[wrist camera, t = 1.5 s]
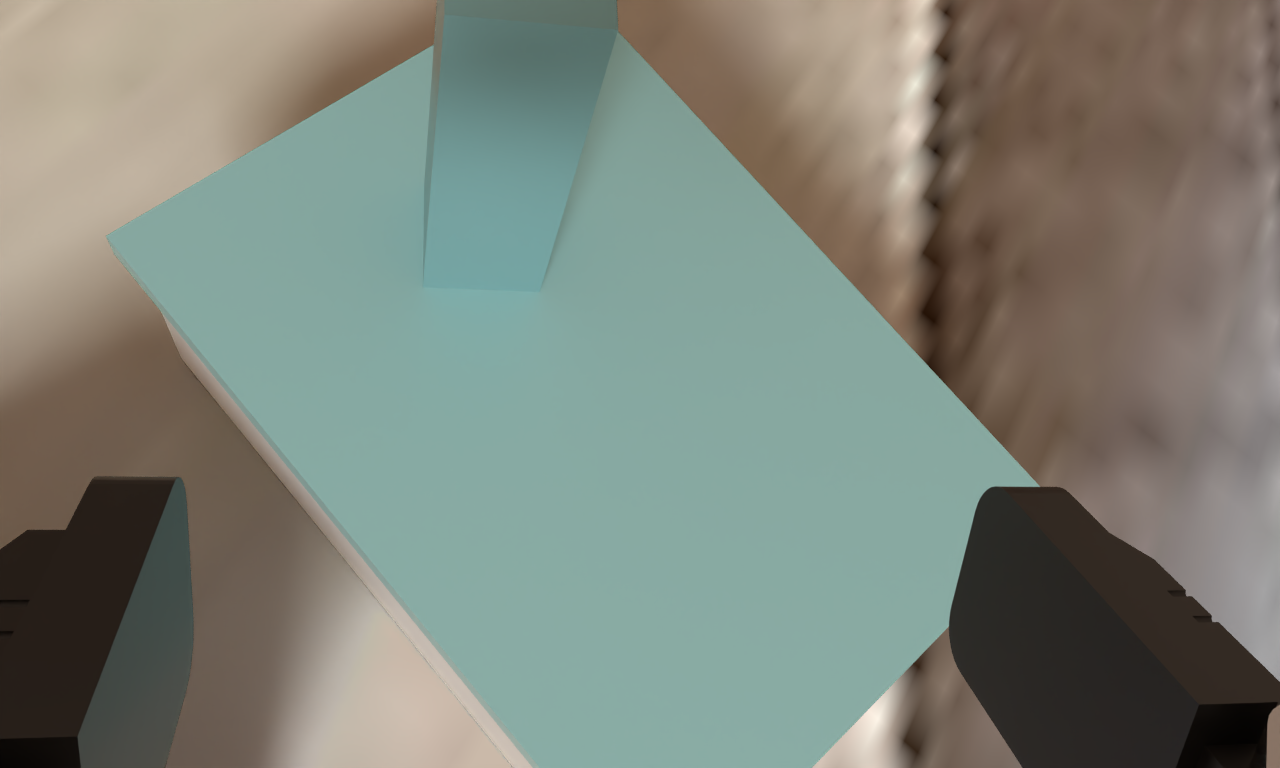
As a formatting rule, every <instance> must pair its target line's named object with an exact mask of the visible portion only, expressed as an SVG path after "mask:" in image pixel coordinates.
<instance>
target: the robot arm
mask: <svg viewBox="0 0 1280 768" xmlns="http://www.w3.org/2000/svg"><path fill="white" fill-rule="evenodd" d="M1185 592H1186V590H1185V589H1184V588H1183V587H1182V586H1181V585H1180V584H1179V583H1178V582H1177V581H1176V580H1175V579H1174V578H1173V577H1172V576H1171V575H1170V574H1169V573H1168V572H1166V571H1165V570H1164V569H1163V568H1162V567H1161V566H1160V565H1159V564H1158V563H1157V562H1156V561H1155V560H1154V559H1152V558H1151V557H1149V556H1147V555H1146V554H1144V553H1142V552H1141V551H1139V550H1137V549H1136V548H1134V547H1132V546H1131V545H1129V544H1127V543H1126V542H1124V541H1122V540H1121V539H1119V538H1117V537H1115V536H1114V535H1112V534H1110V533H1109V532H1108V531H1107V530H1106V529H1105V528H1104V527H1103V526H1102V525H1101V524H1100V523H1099V522H1098V521H1097V520H1096V519H1095V518H1094V517H1093V516H1092V515H1091V514H1090V513H1089V512H1088V511H1087V510H1086V509H1085V508H1084V507H1083V506H1082V505H1081V504H1080V503H1079V502H1078V501H1077V500H1076V499H1075V498H1074V497H1073V496H1072V495H1071V494H1070V493H1069V492H1067V491H1066V490H1065V489H1063V488H1060V487H1000V486H995V487H991V488H989V489H987V490H986V491H985V492H984V493H983V495H982V496H981V498H980V500H979V502H978V504H977V507H976V510H975V514H974V518H973V522H972V526H971V530H970V534H969V538H968V542H967V546H966V550H965V554H964V558H963V562H962V566H961V570H960V574H959V578H958V582H957V586H956V590H955V594H954V598H953V601H952V605H951V610H950V617H949V637H950V644H951V649H952V653H953V657H954V660H955V662H956V665H957V667H958V669H959V671H960V672H961V674H962V675H963V677H964V679H965V680H966V682H967V683H968V685H969V686H970V688H971V689H972V691H973V692H974V694H975V695H976V697H977V698H978V700H979V702H980V703H981V705H982V706H983V708H984V709H985V711H986V712H987V714H988V715H989V717H990V718H991V720H992V721H993V723H994V725H995V726H996V728H997V729H998V731H999V732H1000V734H1001V735H1002V737H1003V738H1004V740H1005V741H1006V743H1007V744H1008V746H1009V748H1010V749H1011V751H1012V752H1013V754H1014V755H1015V757H1016V758H1017V760H1018V761H1019V763H1020V764H1021V766H1022V767H1023V768H1280V682H1279V681H1278V680H1277V679H1276V678H1275V677H1274V676H1273V675H1272V674H1271V673H1270V672H1269V671H1268V670H1267V669H1266V668H1265V667H1264V666H1263V665H1262V664H1261V663H1260V662H1259V661H1258V660H1257V659H1256V658H1255V657H1254V656H1253V655H1251V654H1250V653H1249V652H1248V651H1247V650H1246V649H1245V648H1244V647H1243V646H1242V645H1241V644H1240V643H1239V642H1238V641H1237V640H1236V639H1235V638H1234V637H1233V636H1232V635H1231V634H1230V633H1229V632H1228V631H1227V630H1226V629H1225V628H1224V627H1223V626H1222V625H1221V624H1220V623H1219V622H1212V619H1211V617H1212V615H1211V614H1210V613H1208V612H1207V611H1206V610H1205V609H1204V608H1203V607H1202V606H1201V605H1200V604H1199V603H1198V602H1197V601H1196V600H1195V599H1194V598H1193V597H1192V596H1188V597H1186V594H1185ZM192 651H193V602H192V585H191V568H190V551H189V534H188V517H187V501H186V492H185V487H184V483H183V481H182V479H181V478H180V477H106V476H97V477H94V478H93V479H92V481H91V482H90V484H89V486H88V488H87V490H86V491H85V493H84V495H83V497H82V499H81V501H80V503H79V505H78V507H77V509H76V511H75V513H74V515H73V517H72V519H71V521H70V523H69V525H68V527H67V529H66V530H27V531H26V532H24V533H23V534H21V535H20V536H19V537H17V538H16V539H14V540H13V541H12V542H10V543H9V544H7V545H6V546H5V547H3V548H2V549H0V768H165V766H166V762H167V759H168V755H169V751H170V748H171V744H172V741H173V737H174V733H175V730H176V726H177V722H178V719H179V715H180V711H181V708H182V704H183V700H184V697H185V693H186V689H187V685H188V681H189V676H190V669H191V661H192Z"/></svg>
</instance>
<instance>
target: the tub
mask: <svg viewBox="0 0 1280 768" xmlns="http://www.w3.org/2000/svg"><path fill="white" fill-rule="evenodd" d="M161 313H162V312H161ZM162 315H163V313H162ZM163 317H164V320H165V322H166V324H167V327H168V329H169V331H170V334H171V336H172V338H173V341H174V343H175V345H176V348H177V350H178V352H179V355H180V357H181V359H182V360H183V361H184V362H185V364H186V365H187V366H188V367H189V369H190V370H191V371H192V372H193V373H194V375H195V376H196V377H197V378H198V380H199V381H200V382H201V383H202V385H203V386H204V387H205V388H206V389H207V391H208V392H209V393H210V394H211V396H212V397H213V398H214V399H215V401H216V402H217V403H218V404H219V405H220V407H221V408H222V409H223V410H224V412H225V413H226V414H227V415H228V417H229V418H230V419H231V420H232V421H233V423H234V424H235V425H236V426H237V428H238V429H239V430H240V431H241V433H242V434H243V435H244V436H245V438H246V439H247V440H248V441H249V442H250V444H251V445H252V446H253V447H254V449H255V450H256V451H257V452H258V454H259V455H260V456H261V457H262V458H263V460H264V461H265V462H266V463H267V465H268V466H269V467H270V468H271V470H272V471H273V472H274V473H275V474H276V476H277V477H278V478H279V479H280V481H281V482H282V483H283V484H284V486H285V487H286V488H287V489H288V490H289V492H290V493H291V494H292V495H293V497H294V498H295V499H296V500H297V502H298V503H299V504H300V505H301V506H302V508H303V509H304V510H305V511H306V513H307V514H308V515H309V516H310V518H311V519H312V520H313V521H314V523H315V524H316V525H317V526H318V527H319V529H320V530H321V531H322V532H323V534H324V535H325V536H326V537H327V539H328V540H329V541H330V542H331V543H332V545H333V546H334V547H335V548H336V550H337V551H338V552H339V553H340V555H341V556H342V557H343V558H344V559H345V561H346V562H347V563H348V564H349V566H350V567H351V568H352V569H353V571H354V572H355V573H356V574H357V575H358V577H359V578H360V579H361V580H362V582H363V583H364V584H365V585H366V587H367V588H368V589H369V590H370V591H371V593H372V594H373V595H374V596H375V598H376V599H377V600H378V601H379V603H380V604H381V605H382V606H383V607H384V609H385V610H386V611H387V612H388V614H389V615H390V616H391V617H392V619H393V620H394V621H395V622H396V624H397V625H398V626H399V627H400V628H401V630H402V631H403V632H404V633H405V635H406V636H407V637H408V638H409V640H410V641H411V642H412V643H413V644H414V646H415V647H416V648H417V649H418V651H419V652H420V653H421V654H422V656H423V657H424V658H425V659H426V660H427V662H428V663H429V664H430V665H431V667H432V668H433V669H434V670H435V672H436V673H437V674H438V675H439V676H440V678H441V679H442V680H443V681H444V683H445V684H446V685H447V686H448V688H449V689H450V690H451V691H452V692H453V694H454V695H455V696H456V697H457V699H458V700H459V701H460V702H461V704H462V705H463V706H464V707H465V709H466V710H467V711H468V712H469V713H470V715H471V716H472V717H473V718H474V720H475V721H476V722H477V723H478V725H479V726H480V727H481V728H482V729H483V731H484V732H485V733H486V734H487V736H488V737H489V738H490V739H491V741H492V742H493V743H494V744H495V745H496V747H497V748H498V749H499V750H500V752H501V753H502V754H503V755H504V757H505V758H506V759H507V760H508V761H509V763H510V764H511V765H512V766H513V768H533V767H532V766H531V765H530V764H529V763H528V761H527V760H526V759H525V758H524V756H523V755H522V754H521V753H520V752H519V750H518V749H517V748H516V747H515V745H514V744H513V743H512V742H511V740H510V739H509V738H508V737H507V736H506V734H505V733H504V732H503V731H502V729H501V728H500V727H499V726H498V725H497V723H496V722H495V721H494V720H493V718H492V717H491V716H490V715H489V713H488V712H487V711H486V710H485V709H484V707H483V706H482V705H481V704H480V702H479V701H478V700H477V699H476V698H475V696H474V695H473V694H472V693H471V691H470V690H469V689H468V688H467V686H466V685H465V684H464V683H463V682H462V680H461V679H460V678H459V677H458V675H457V674H456V673H455V672H454V671H453V669H452V668H451V667H450V666H449V664H448V663H447V662H446V661H445V659H444V658H443V657H442V656H441V655H440V653H439V652H438V651H437V650H436V648H435V647H434V646H433V645H432V644H431V642H430V641H429V640H428V639H427V637H426V636H425V635H424V634H423V632H422V631H421V630H420V629H419V628H418V626H417V625H416V624H415V623H414V621H413V620H412V619H411V618H410V617H409V615H408V614H407V613H406V612H405V610H404V609H403V608H402V607H401V605H400V604H399V603H398V602H397V601H396V599H395V598H394V597H393V596H392V594H391V593H390V592H389V591H388V589H387V588H386V587H385V586H384V585H383V583H382V582H381V581H380V580H379V578H378V577H377V576H376V575H375V574H374V572H373V571H372V570H371V569H370V567H369V566H368V565H367V564H366V562H365V561H364V560H363V559H362V558H361V556H360V555H359V554H358V553H357V551H356V550H355V549H354V548H353V547H352V545H351V544H350V543H349V542H348V540H347V539H346V538H345V537H344V535H343V534H342V533H341V532H340V531H339V529H338V528H337V527H336V526H335V524H334V523H333V522H332V521H331V520H330V518H329V517H328V516H327V515H326V513H325V512H324V511H323V510H322V508H321V507H320V506H319V505H318V504H317V502H316V501H315V500H314V499H313V497H312V496H311V495H310V494H309V493H308V491H307V490H306V489H305V488H304V486H303V485H302V484H301V483H300V481H299V480H298V479H297V478H296V477H295V475H294V474H293V473H292V472H291V470H290V469H289V468H288V467H287V466H286V464H285V463H284V462H283V461H282V459H281V458H280V457H279V456H278V454H277V453H276V452H275V451H274V450H273V448H272V447H271V446H270V445H269V443H268V442H267V441H266V440H265V438H264V437H263V436H262V435H261V434H260V432H259V431H258V430H257V429H256V427H255V426H254V425H253V424H252V423H251V421H250V420H249V419H248V418H247V416H246V415H245V414H244V413H243V411H242V410H241V409H240V408H239V407H238V405H237V404H236V403H235V402H234V400H233V399H232V398H231V397H230V396H229V394H228V393H227V392H226V391H225V389H224V388H223V387H222V386H221V384H220V383H219V382H218V381H217V380H216V378H215V377H214V376H213V375H212V373H211V372H210V371H209V370H208V369H207V367H206V366H205V365H204V364H203V362H202V361H201V360H200V359H199V357H198V356H197V355H196V354H195V353H194V351H193V350H192V349H191V348H190V346H189V345H188V344H187V343H186V342H185V340H184V339H183V338H182V337H181V335H180V334H179V333H178V332H177V330H176V329H175V328H174V327H173V326H172V324H171V323H170V322H169V321H168V319H167V318H166V317H165V316H164V315H163Z"/></svg>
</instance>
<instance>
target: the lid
mask: <svg viewBox="0 0 1280 768" xmlns="http://www.w3.org/2000/svg"><path fill="white" fill-rule="evenodd" d="M106 237H107V240H108V242H109V244H110V246H111V248H112V250H113V252H114V254H115V256H116V257H117V258H118V259H119V260H120V262H121V263H122V264H123V265H124V267H125V268H126V269H127V270H128V272H129V273H130V274H131V275H132V276H133V278H134V279H135V280H136V281H137V283H138V284H139V285H140V286H141V288H142V289H143V290H144V291H145V292H146V294H147V295H148V296H149V297H150V299H151V300H152V301H153V302H154V303H155V305H156V306H157V307H158V308H159V310H160V311H161V312H162V313H163V315H164V316H165V317H166V318H167V319H168V321H169V322H170V323H171V324H172V326H173V327H174V328H175V329H176V330H177V332H178V333H179V334H180V335H181V337H182V338H183V339H184V340H185V342H186V343H187V344H188V345H189V346H190V348H191V349H192V350H193V351H194V353H195V354H196V355H197V356H198V357H199V359H200V360H201V361H202V362H203V364H204V365H205V366H206V367H207V369H208V370H209V371H210V372H211V373H212V375H213V376H214V377H215V378H216V380H217V381H218V382H219V383H220V384H221V386H222V387H223V388H224V389H225V391H226V392H227V393H228V394H229V396H230V397H231V398H232V399H233V400H234V402H235V403H236V404H237V405H238V407H239V408H240V409H241V410H242V411H243V413H244V414H245V415H246V416H247V418H248V419H249V420H250V421H251V423H252V424H253V425H254V426H255V427H256V429H257V430H258V431H259V432H260V434H261V435H262V436H263V437H264V438H265V440H266V441H267V442H268V443H269V445H270V446H271V447H272V448H273V450H274V451H275V452H276V453H277V454H278V456H279V457H280V458H281V459H282V461H283V462H284V463H285V464H286V466H287V467H288V468H289V469H290V470H291V472H292V473H293V474H294V475H295V477H296V478H297V479H298V480H299V481H300V483H301V484H302V485H303V486H304V488H305V489H306V490H307V491H308V493H309V494H310V495H311V496H312V497H313V499H314V500H315V501H316V502H317V504H318V505H319V506H320V507H321V508H322V510H323V511H324V512H325V513H326V515H327V516H328V517H329V518H330V520H331V521H332V522H333V523H334V524H335V526H336V527H337V528H338V529H339V531H340V532H341V533H342V534H343V535H344V537H345V538H346V539H347V540H348V542H349V543H350V544H351V545H352V547H353V548H354V549H355V550H356V551H357V553H358V554H359V555H360V556H361V558H362V559H363V560H364V561H365V562H366V564H367V565H368V566H369V567H370V569H371V570H372V571H373V572H374V574H375V575H376V576H377V577H378V578H379V580H380V581H381V582H382V583H383V585H384V586H385V587H386V588H387V589H388V591H389V592H390V593H391V594H392V596H393V597H394V598H395V599H396V601H397V602H398V603H399V604H400V605H401V607H402V608H403V609H404V610H405V612H406V613H407V614H408V615H409V617H410V618H411V619H412V620H413V621H414V623H415V624H416V625H417V626H418V628H419V629H420V630H421V631H422V632H423V634H424V635H425V636H426V637H427V639H428V640H429V641H430V642H431V644H432V645H433V646H434V647H435V648H436V650H437V651H438V652H439V653H440V655H441V656H442V657H443V658H444V659H445V661H446V662H447V663H448V664H449V666H450V667H451V668H452V669H453V671H454V672H455V673H456V674H457V675H458V677H459V678H460V679H461V680H462V682H463V683H464V684H465V685H466V686H467V688H468V689H469V690H470V691H471V693H472V694H473V695H474V696H475V698H476V699H477V700H478V701H479V702H480V704H481V705H482V706H483V707H484V709H485V710H486V711H487V712H488V713H489V715H490V716H491V717H492V718H493V720H494V721H495V722H496V723H497V725H498V726H499V727H500V728H501V729H502V731H503V732H504V733H505V734H506V736H507V737H508V738H509V739H510V740H511V742H512V743H513V744H514V745H515V747H516V748H517V749H518V750H519V752H520V753H521V754H522V755H523V756H524V758H525V759H526V760H527V761H528V763H529V764H530V765H531V766H532V767H533V768H812V767H813V766H814V765H815V764H816V763H817V762H818V761H819V760H820V759H821V758H822V757H823V756H824V755H825V754H826V753H827V752H828V750H829V749H830V748H831V747H832V746H833V745H834V744H835V743H836V742H837V741H838V740H839V739H840V738H841V737H842V736H843V735H844V734H845V733H846V732H847V731H848V730H849V729H850V728H851V727H852V726H853V725H854V724H855V723H856V722H857V721H858V720H859V718H860V717H861V716H862V715H863V714H864V713H865V712H866V711H867V710H868V709H869V708H870V707H871V706H872V705H873V704H874V703H875V702H876V701H877V700H878V699H879V698H880V697H881V696H882V695H883V694H884V693H885V692H886V691H887V690H888V689H889V687H890V686H891V685H892V684H893V683H894V682H895V681H896V680H897V679H898V678H899V677H900V676H901V675H902V674H903V673H904V672H905V671H906V670H907V669H908V668H909V667H910V666H911V665H912V664H913V663H914V662H915V661H916V660H917V659H918V658H919V656H920V655H921V654H922V653H923V652H924V651H925V650H926V649H927V648H928V647H929V646H930V645H931V644H932V643H933V642H934V641H935V640H936V639H937V638H938V637H939V636H940V635H941V634H942V633H943V632H944V631H945V630H946V629H947V628H948V627H949V617H950V610H951V605H952V601H953V598H954V594H955V590H956V586H957V582H958V578H959V574H960V570H961V566H962V562H963V558H964V554H965V550H966V546H967V542H968V538H969V534H970V530H971V526H972V522H973V518H974V514H975V510H976V507H977V504H978V502H979V500H980V498H981V496H982V495H983V493H984V492H985V491H986V490H987V489H989V488H991V487H995V486H1000V487H1040V486H1039V485H1038V484H1037V483H1036V482H1035V481H1034V480H1033V479H1032V478H1031V476H1030V475H1029V474H1028V473H1027V472H1026V471H1025V470H1024V469H1023V468H1022V467H1021V466H1020V465H1019V464H1018V462H1017V461H1016V460H1015V459H1014V458H1013V457H1012V456H1011V455H1010V454H1009V453H1008V452H1007V451H1006V450H1005V448H1004V447H1003V446H1002V445H1001V444H1000V443H999V442H998V441H997V440H996V439H995V438H994V437H993V435H992V434H991V433H990V432H989V431H988V430H987V429H986V428H985V427H984V426H983V425H982V424H981V423H980V421H979V420H978V419H977V418H976V417H975V416H974V415H973V414H972V413H971V412H970V411H969V410H968V408H967V407H966V406H965V405H964V404H963V403H962V402H961V401H960V400H959V399H958V398H957V397H956V396H955V394H954V393H953V392H952V391H951V390H950V389H949V388H948V387H947V386H946V385H945V384H944V383H943V381H942V380H941V379H940V378H939V377H938V376H937V375H936V374H935V373H934V372H933V371H932V370H931V369H930V367H929V366H928V365H927V364H926V363H925V362H924V361H923V360H922V359H921V358H920V357H919V356H918V354H917V353H916V352H915V351H914V350H913V349H912V348H911V347H910V346H909V345H908V344H907V343H906V342H905V340H904V339H903V338H902V337H901V336H900V335H899V334H898V333H897V332H896V331H895V330H894V329H893V327H892V326H891V325H890V324H889V323H888V322H887V321H886V320H885V319H884V318H883V317H882V316H881V315H880V313H879V312H878V311H877V310H876V309H875V308H874V307H873V306H872V305H871V304H870V303H869V302H868V300H867V299H866V298H865V297H864V296H863V295H862V294H861V293H860V292H859V291H858V290H857V289H856V288H855V286H854V285H853V284H852V283H851V282H850V281H849V280H848V279H847V278H846V277H845V276H844V275H843V274H842V272H841V271H840V270H839V269H838V268H837V267H836V266H835V265H834V264H833V263H832V262H831V261H830V259H829V258H828V257H827V256H826V255H825V254H824V253H823V252H822V251H821V250H820V249H819V248H818V247H817V245H816V244H815V243H814V242H813V241H812V240H811V239H810V238H809V237H808V236H807V235H806V234H805V232H804V231H803V230H802V229H801V228H800V227H799V226H798V225H797V224H796V223H795V222H794V221H793V220H792V218H791V217H790V216H789V215H788V214H787V213H786V212H785V211H784V210H783V209H782V208H781V207H780V205H779V204H778V203H777V202H776V201H775V200H774V199H773V198H772V197H771V196H770V195H769V194H768V193H767V191H766V190H765V189H764V188H763V187H762V186H761V185H760V184H759V183H758V182H757V181H756V180H755V178H754V177H753V176H752V175H751V174H750V173H749V172H748V171H747V170H746V169H745V168H744V167H743V166H742V164H741V163H740V162H739V161H738V160H737V159H736V158H735V157H734V156H733V155H732V154H731V153H730V151H729V150H728V149H727V148H726V147H725V146H724V145H723V144H722V143H721V142H720V141H719V140H718V139H717V137H716V136H715V135H714V134H713V133H712V132H711V131H710V130H709V129H708V128H707V127H706V126H705V125H704V123H703V122H702V121H701V120H700V119H699V118H698V117H697V116H696V115H695V114H694V113H693V112H692V110H691V109H690V108H689V107H688V106H687V105H686V104H685V103H684V102H683V101H682V100H681V99H680V98H679V96H678V95H677V94H676V93H675V92H674V91H673V90H672V89H671V88H670V87H669V86H668V85H667V83H666V82H665V81H664V80H663V79H662V78H661V77H660V76H659V75H658V74H657V73H656V72H655V71H654V69H653V68H652V67H651V66H650V65H649V64H648V63H647V62H646V61H645V60H644V59H643V58H642V56H641V55H640V54H639V53H638V52H637V51H636V50H635V49H634V48H633V47H632V46H631V45H630V44H629V42H628V41H627V40H626V39H625V38H624V37H623V36H622V35H621V34H620V33H619V32H618V16H617V0H437V6H436V21H435V35H434V45H432V46H430V47H429V48H427V49H425V50H424V51H422V52H420V53H418V54H417V55H415V56H413V57H412V58H410V59H408V60H406V61H405V62H403V63H401V64H400V65H398V66H396V67H394V68H393V69H391V70H389V71H388V72H386V73H384V74H382V75H381V76H379V77H377V78H376V79H374V80H372V81H370V82H369V83H367V84H365V85H364V86H362V87H360V88H358V89H357V90H355V91H353V92H352V93H350V94H348V95H346V96H345V97H343V98H341V99H340V100H338V101H336V102H334V103H333V104H331V105H329V106H328V107H326V108H324V109H322V110H321V111H319V112H317V113H316V114H314V115H312V116H310V117H309V118H307V119H305V120H304V121H302V122H300V123H298V124H297V125H295V126H293V127H292V128H290V129H288V130H286V131H285V132H283V133H281V134H280V135H278V136H276V137H274V138H273V139H271V140H269V141H268V142H266V143H264V144H262V145H261V146H259V147H257V148H256V149H254V150H252V151H250V152H249V153H247V154H245V155H244V156H242V157H240V158H238V159H237V160H235V161H233V162H232V163H230V164H228V165H226V166H225V167H223V168H221V169H220V170H218V171H216V172H214V173H213V174H211V175H209V176H208V177H206V178H204V179H202V180H201V181H199V182H197V183H196V184H194V185H192V186H191V187H189V188H187V189H185V190H184V191H182V192H180V193H179V194H177V195H175V196H173V197H172V198H170V199H168V200H167V201H165V202H163V203H161V204H160V205H158V206H156V207H155V208H153V209H151V210H149V211H148V212H146V213H144V214H143V215H141V216H139V217H137V218H136V219H134V220H132V221H131V222H129V223H127V224H125V225H124V226H122V227H120V228H119V229H117V230H115V231H113V232H112V233H110V234H108V235H107V236H106Z"/></svg>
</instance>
